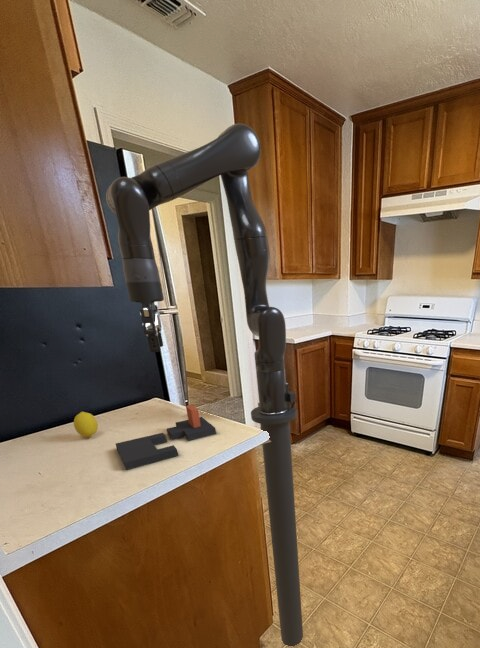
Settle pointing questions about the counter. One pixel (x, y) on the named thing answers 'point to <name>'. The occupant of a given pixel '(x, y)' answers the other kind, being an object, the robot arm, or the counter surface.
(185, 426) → the pad
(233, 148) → the robot arm
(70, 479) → the counter surface
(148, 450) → the base pad
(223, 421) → the counter surface
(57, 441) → the counter surface
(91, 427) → the lemon
